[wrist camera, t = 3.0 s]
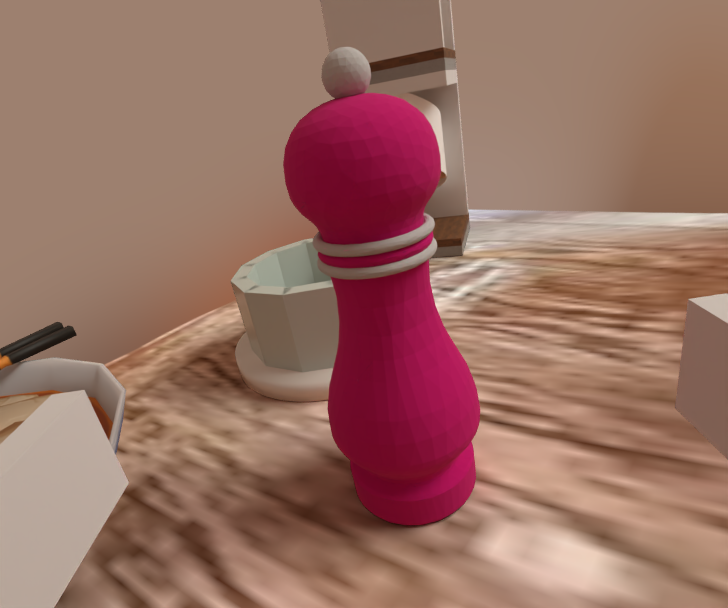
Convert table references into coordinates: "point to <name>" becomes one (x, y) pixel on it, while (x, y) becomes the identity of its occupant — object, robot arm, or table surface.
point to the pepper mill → (384, 297)
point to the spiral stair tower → (414, 87)
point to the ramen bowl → (55, 382)
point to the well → (287, 324)
